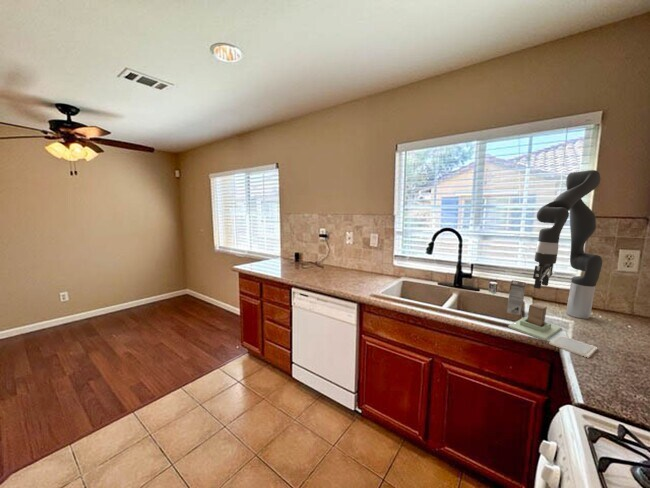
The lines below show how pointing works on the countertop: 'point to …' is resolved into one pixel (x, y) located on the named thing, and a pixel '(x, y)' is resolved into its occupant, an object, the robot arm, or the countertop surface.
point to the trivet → (573, 346)
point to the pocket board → (535, 328)
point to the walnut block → (537, 314)
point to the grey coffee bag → (516, 297)
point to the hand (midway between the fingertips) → (540, 286)
